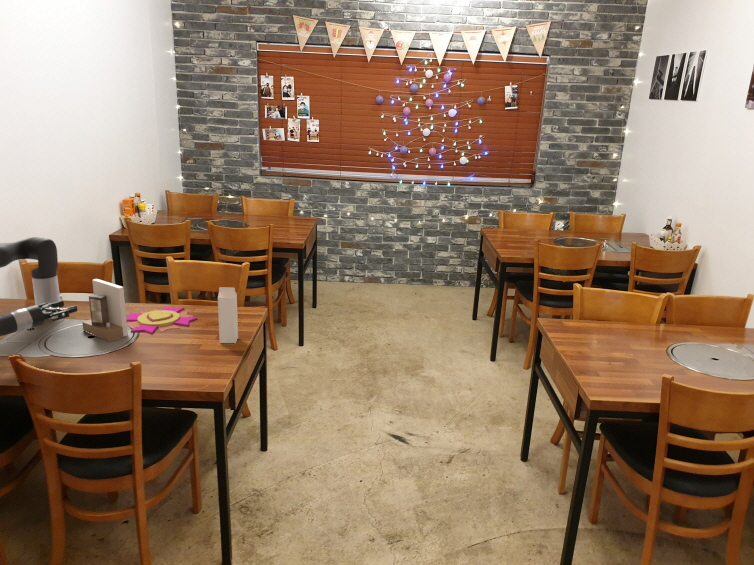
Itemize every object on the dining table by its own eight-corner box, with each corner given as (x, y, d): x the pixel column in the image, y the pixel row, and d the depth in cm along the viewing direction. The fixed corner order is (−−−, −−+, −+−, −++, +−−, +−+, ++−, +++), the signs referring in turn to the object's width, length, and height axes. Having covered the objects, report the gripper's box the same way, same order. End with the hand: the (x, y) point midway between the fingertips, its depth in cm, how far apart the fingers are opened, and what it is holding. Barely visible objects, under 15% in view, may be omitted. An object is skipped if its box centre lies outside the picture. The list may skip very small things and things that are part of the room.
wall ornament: (105, 325, 233) (142, 301, 262) (105, 331, 234) (142, 306, 263) (177, 331, 230) (206, 306, 259) (177, 337, 231) (207, 311, 260)
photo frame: (91, 325, 227) (88, 296, 224) (97, 322, 230) (94, 294, 227) (104, 327, 226) (101, 298, 223) (109, 324, 229) (106, 295, 226)
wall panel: (83, 331, 232) (77, 283, 226) (101, 325, 238) (96, 278, 233) (109, 341, 223) (104, 292, 217) (128, 335, 230) (123, 287, 224)
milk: (235, 344, 226) (233, 290, 219) (219, 343, 226) (217, 289, 219) (238, 338, 232) (236, 285, 225) (222, 337, 231) (220, 284, 225)
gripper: (16, 324, 208) (60, 311, 221) (38, 333, 201) (82, 319, 214) (12, 304, 206) (57, 292, 219) (35, 312, 199) (80, 300, 212)
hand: (70, 305), depth 217 cm, fingers open, 8 cm apart
